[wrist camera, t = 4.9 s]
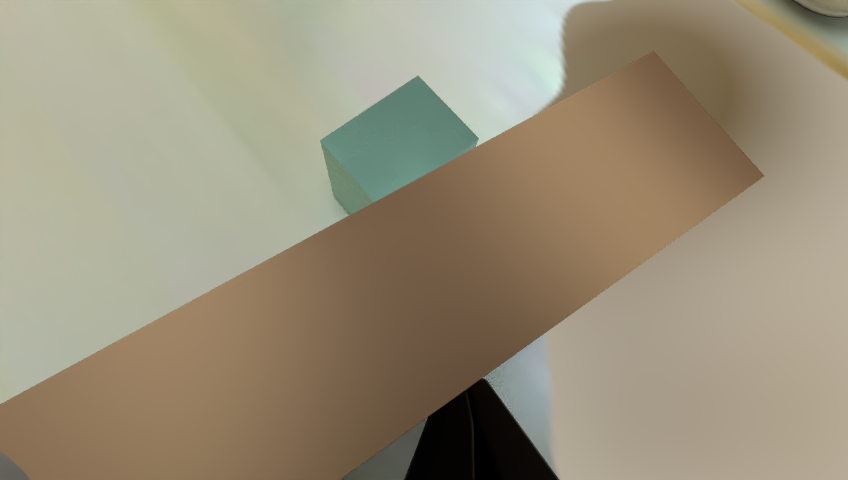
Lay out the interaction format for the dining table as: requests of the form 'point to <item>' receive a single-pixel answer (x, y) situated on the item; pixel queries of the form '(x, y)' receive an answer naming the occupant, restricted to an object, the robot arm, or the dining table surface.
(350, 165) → the stool pivot and socket
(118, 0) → the dining table surface
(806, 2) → the lidded jar
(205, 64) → the dining table surface
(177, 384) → the brown rectangular block
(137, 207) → the dining table surface
